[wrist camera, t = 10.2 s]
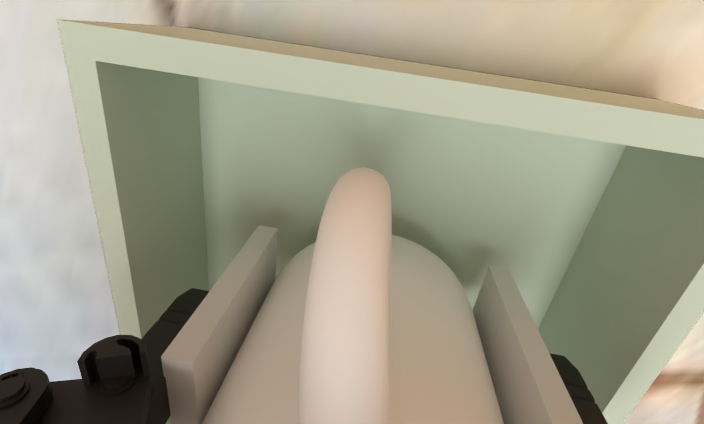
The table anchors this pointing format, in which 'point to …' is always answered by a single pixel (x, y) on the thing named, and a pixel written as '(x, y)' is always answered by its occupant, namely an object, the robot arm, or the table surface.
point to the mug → (360, 330)
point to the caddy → (396, 181)
